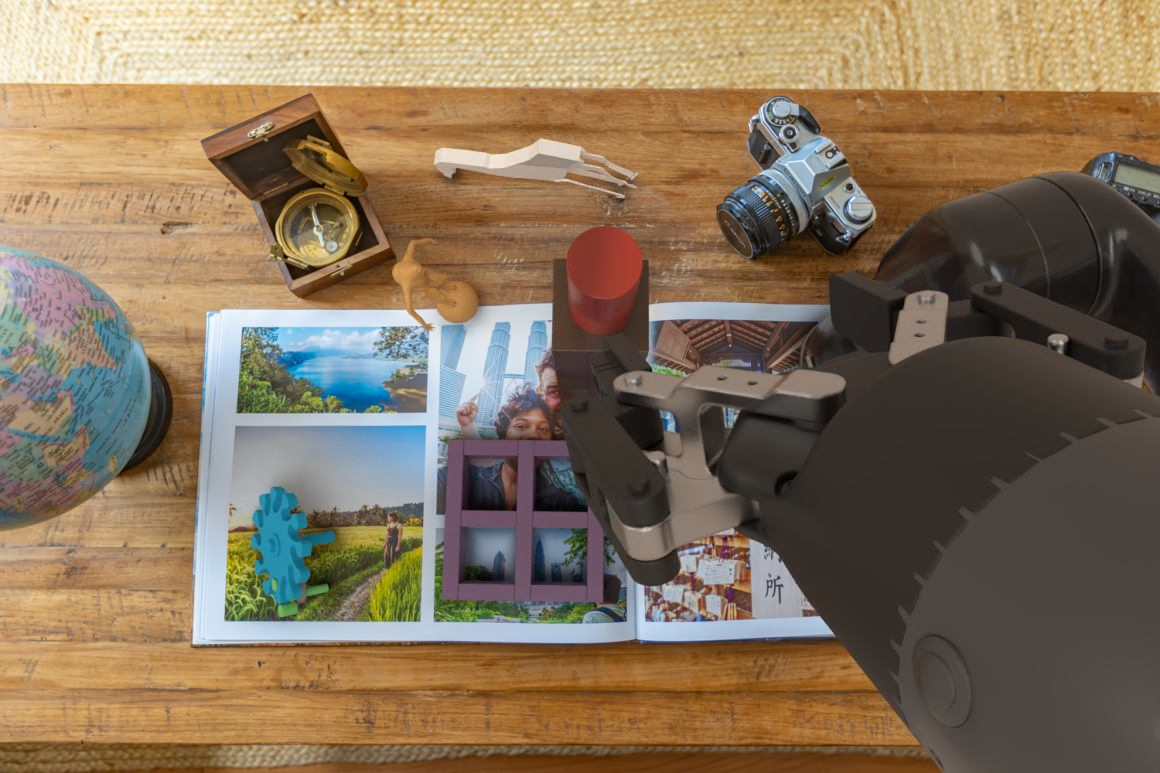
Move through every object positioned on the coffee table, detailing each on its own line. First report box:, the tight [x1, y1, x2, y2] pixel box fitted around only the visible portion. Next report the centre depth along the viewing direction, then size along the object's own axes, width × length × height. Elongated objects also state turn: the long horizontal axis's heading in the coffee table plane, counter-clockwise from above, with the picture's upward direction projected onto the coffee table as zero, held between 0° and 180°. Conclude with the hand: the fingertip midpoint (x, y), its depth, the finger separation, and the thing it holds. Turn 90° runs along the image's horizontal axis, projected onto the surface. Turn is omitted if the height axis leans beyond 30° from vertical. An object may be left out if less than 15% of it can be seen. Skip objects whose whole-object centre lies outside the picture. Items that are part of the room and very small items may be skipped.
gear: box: [250, 485, 336, 618], centre depth 69 cm, size 11×6×10 cm
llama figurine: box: [433, 137, 639, 199], centre depth 75 cm, size 2×11×18 cm
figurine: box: [391, 237, 480, 332], centre depth 70 cm, size 8×6×12 cm
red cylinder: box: [565, 225, 644, 336], centre depth 45 cm, size 4×4×8 cm
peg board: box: [441, 438, 605, 603], centre depth 70 cm, size 14×14×4 cm
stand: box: [551, 257, 650, 405], centre depth 62 cm, size 6×6×26 cm
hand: (729, 328), depth 28 cm, fingers open, 8 cm apart
